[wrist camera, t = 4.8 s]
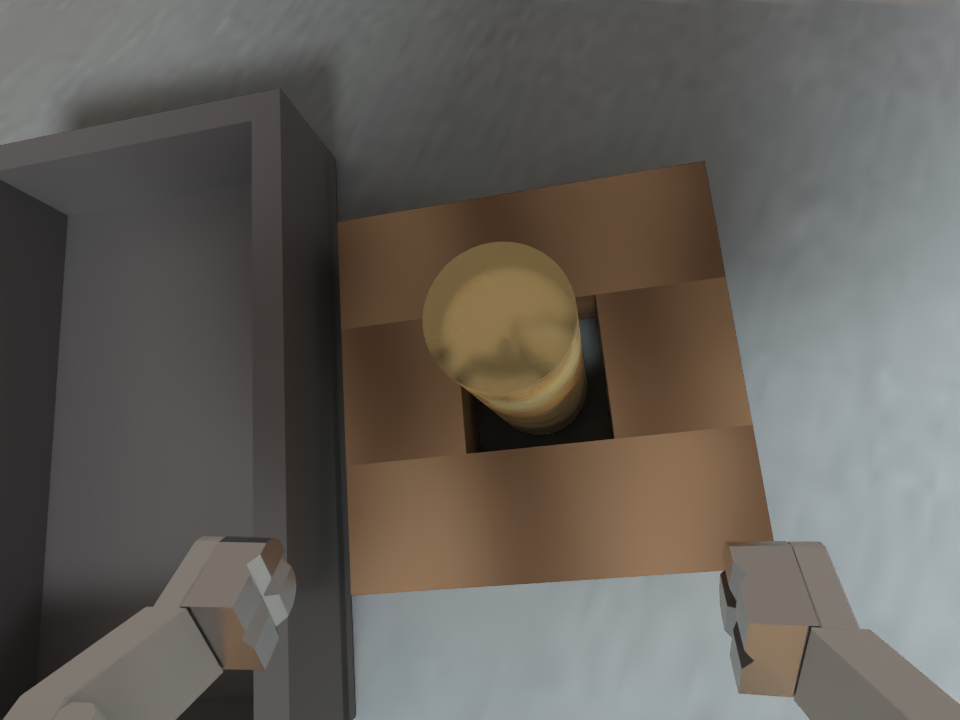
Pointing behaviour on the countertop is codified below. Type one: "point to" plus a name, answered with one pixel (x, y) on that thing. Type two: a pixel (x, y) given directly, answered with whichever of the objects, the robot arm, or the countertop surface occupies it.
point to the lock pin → (509, 334)
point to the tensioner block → (565, 467)
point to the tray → (173, 388)
